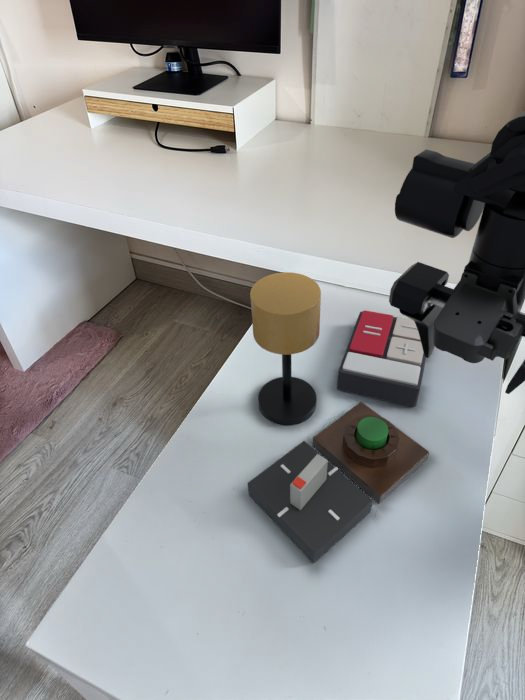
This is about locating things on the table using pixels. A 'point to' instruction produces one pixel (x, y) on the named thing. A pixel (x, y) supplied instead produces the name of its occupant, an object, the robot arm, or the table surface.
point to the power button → (372, 433)
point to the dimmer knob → (308, 481)
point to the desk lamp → (286, 341)
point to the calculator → (383, 359)
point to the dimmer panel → (309, 503)
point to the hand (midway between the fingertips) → (466, 372)
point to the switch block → (370, 454)
